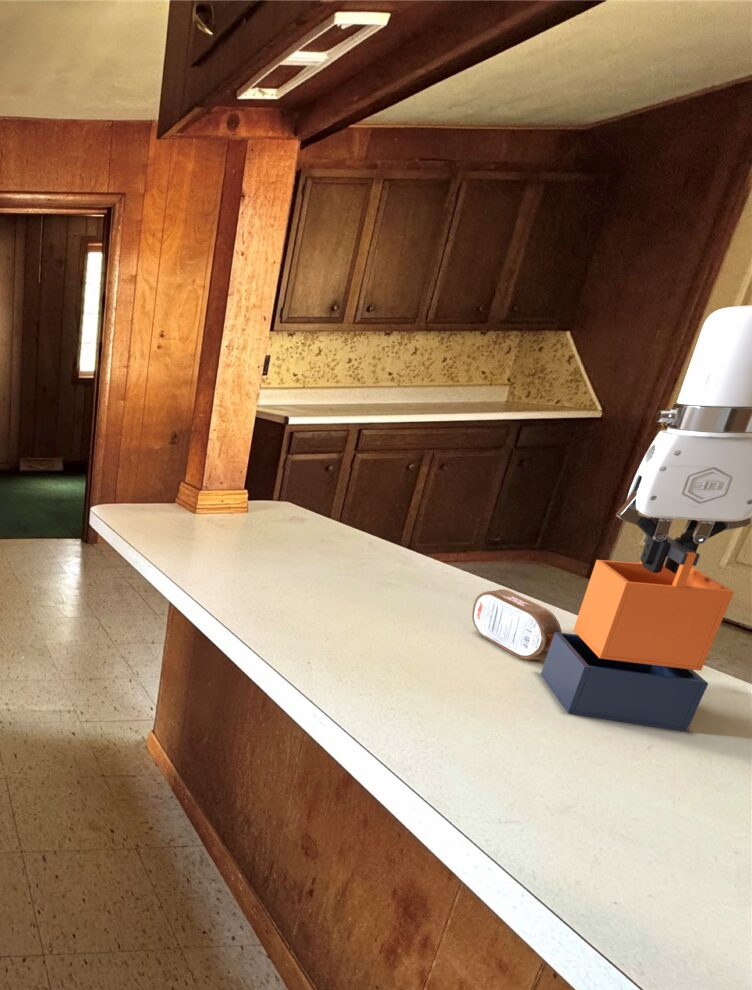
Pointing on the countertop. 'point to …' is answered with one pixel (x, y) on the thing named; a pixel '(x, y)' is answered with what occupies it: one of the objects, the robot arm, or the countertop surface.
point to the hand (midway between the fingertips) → (662, 569)
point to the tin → (515, 623)
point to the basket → (653, 611)
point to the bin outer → (620, 686)
